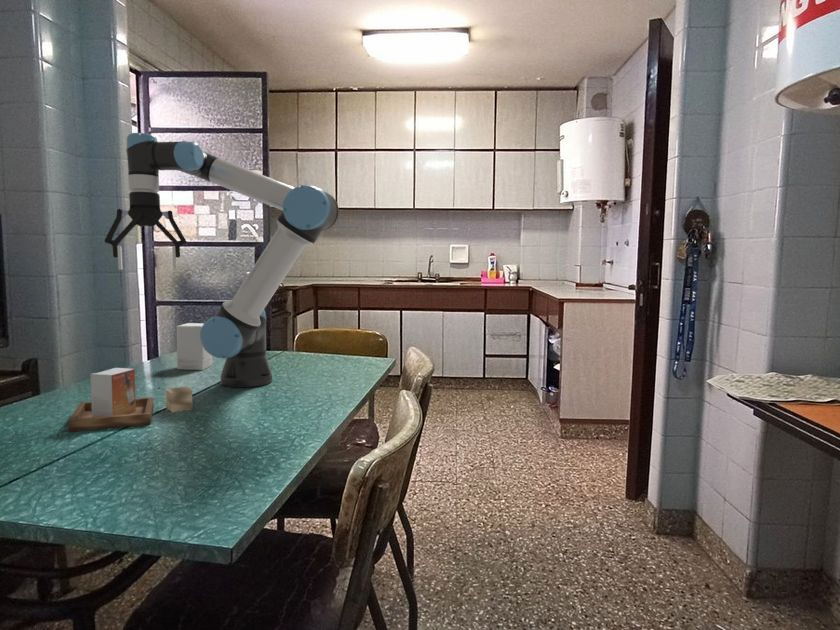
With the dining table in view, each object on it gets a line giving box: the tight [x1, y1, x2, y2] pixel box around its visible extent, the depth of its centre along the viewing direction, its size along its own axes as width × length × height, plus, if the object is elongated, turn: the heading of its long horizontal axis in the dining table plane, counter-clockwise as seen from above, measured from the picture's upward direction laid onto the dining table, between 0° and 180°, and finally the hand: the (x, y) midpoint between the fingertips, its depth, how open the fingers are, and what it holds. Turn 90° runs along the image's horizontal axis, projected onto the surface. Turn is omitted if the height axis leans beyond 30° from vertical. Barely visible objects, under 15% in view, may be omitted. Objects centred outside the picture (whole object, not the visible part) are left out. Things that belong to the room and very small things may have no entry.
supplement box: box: [176, 322, 213, 371], centre depth 189 cm, size 9×9×15 cm
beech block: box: [165, 386, 193, 413], centre depth 139 cm, size 5×5×5 cm
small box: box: [90, 367, 137, 417], centre depth 129 cm, size 8×6×10 cm
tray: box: [67, 396, 155, 433], centre depth 130 cm, size 16×16×2 cm
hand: (148, 269), depth 154 cm, fingers open, 13 cm apart
